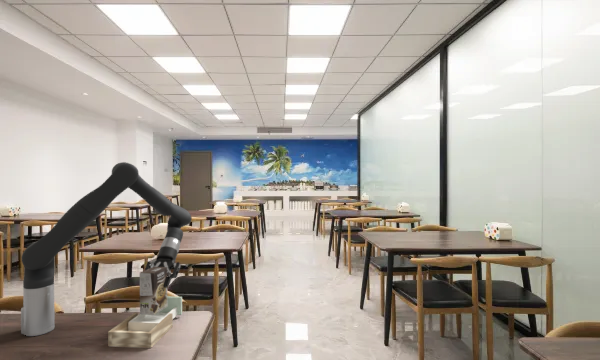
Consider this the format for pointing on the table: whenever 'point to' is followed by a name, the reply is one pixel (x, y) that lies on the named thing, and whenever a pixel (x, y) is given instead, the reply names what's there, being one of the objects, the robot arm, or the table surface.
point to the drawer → (156, 316)
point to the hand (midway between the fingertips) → (156, 286)
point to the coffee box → (153, 290)
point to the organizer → (138, 334)
